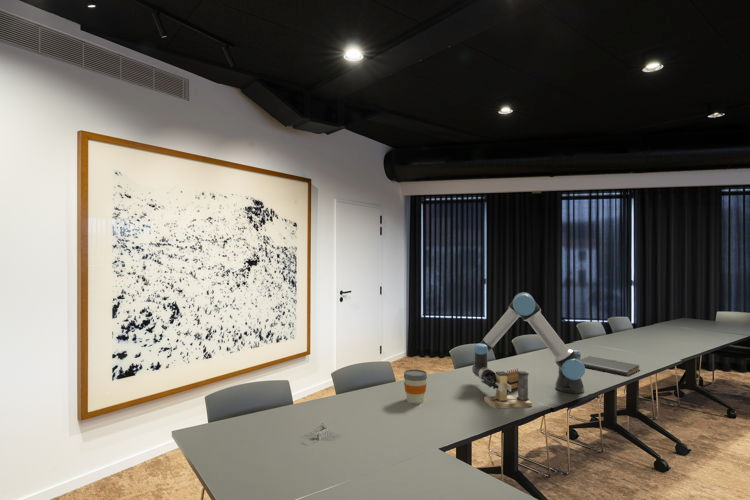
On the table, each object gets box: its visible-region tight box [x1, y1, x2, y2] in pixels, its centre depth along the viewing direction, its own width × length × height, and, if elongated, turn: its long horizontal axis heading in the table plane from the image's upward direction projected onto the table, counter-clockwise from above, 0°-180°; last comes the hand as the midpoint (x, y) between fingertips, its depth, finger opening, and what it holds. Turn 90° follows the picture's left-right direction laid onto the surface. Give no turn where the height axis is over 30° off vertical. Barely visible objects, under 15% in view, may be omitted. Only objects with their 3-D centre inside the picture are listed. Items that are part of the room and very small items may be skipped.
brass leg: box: [495, 370, 508, 401], centre depth 221 cm, size 5×5×14 cm
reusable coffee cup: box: [403, 368, 428, 404], centre depth 226 cm, size 12×12×15 cm
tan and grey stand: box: [483, 370, 533, 409], centre depth 222 cm, size 22×12×16 cm, turn 98°
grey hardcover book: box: [581, 355, 640, 377], centre depth 292 cm, size 33×4×24 cm
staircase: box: [309, 422, 328, 441], centre depth 179 cm, size 6×4×6 cm, turn 141°
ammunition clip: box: [505, 368, 519, 393], centre depth 243 cm, size 11×2×12 cm, turn 123°
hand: (506, 388), depth 216 cm, fingers closed on brass leg, 4 cm apart
